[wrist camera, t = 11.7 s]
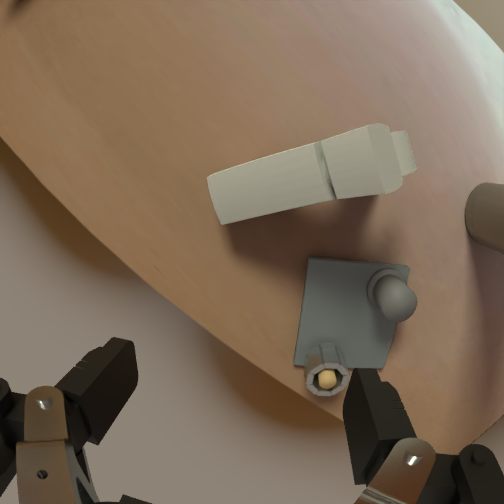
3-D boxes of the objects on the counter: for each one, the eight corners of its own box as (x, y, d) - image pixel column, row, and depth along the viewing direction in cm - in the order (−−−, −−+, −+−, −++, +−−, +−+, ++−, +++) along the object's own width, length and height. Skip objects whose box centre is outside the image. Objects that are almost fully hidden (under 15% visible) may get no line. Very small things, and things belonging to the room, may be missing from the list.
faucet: (204, 175, 34) (368, 116, 19) (290, 155, 44) (418, 121, 30) (220, 228, 35) (391, 201, 20) (302, 195, 46) (431, 172, 31)
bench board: (406, 265, 39) (429, 283, 31) (381, 364, 43) (394, 393, 35) (308, 256, 40) (313, 274, 32) (293, 360, 44) (294, 392, 36)
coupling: (346, 344, 40) (352, 364, 35) (338, 375, 41) (343, 396, 36) (307, 341, 40) (310, 362, 35) (302, 373, 42) (303, 394, 37)
